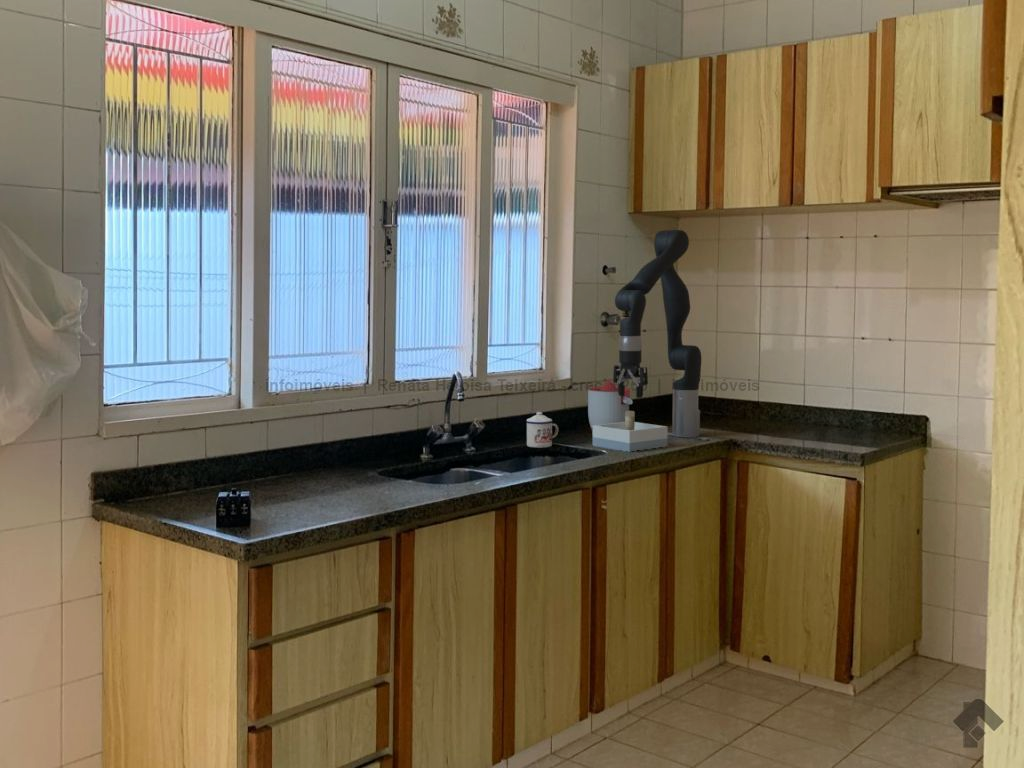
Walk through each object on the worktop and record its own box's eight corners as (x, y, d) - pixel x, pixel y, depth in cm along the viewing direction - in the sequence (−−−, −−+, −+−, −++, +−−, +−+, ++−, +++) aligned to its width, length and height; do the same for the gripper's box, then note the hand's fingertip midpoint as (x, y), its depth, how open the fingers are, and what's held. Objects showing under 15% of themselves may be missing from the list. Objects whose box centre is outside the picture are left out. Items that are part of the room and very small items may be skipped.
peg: (629, 445, 357) (630, 410, 356) (636, 446, 355) (636, 411, 354) (622, 446, 355) (623, 411, 354) (629, 447, 353) (629, 412, 352)
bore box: (630, 440, 368) (630, 421, 367) (667, 446, 353) (667, 426, 353) (592, 445, 356) (592, 425, 356) (629, 452, 342) (629, 431, 342)
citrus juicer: (619, 438, 374) (619, 383, 372) (579, 434, 384) (579, 380, 382) (641, 433, 386) (641, 380, 384) (601, 429, 397) (602, 377, 395)
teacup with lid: (534, 448, 350) (534, 414, 349) (521, 445, 358) (521, 411, 357) (564, 445, 356) (564, 412, 355) (550, 442, 364) (550, 409, 363)
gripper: (653, 349, 348) (653, 397, 350) (623, 347, 360) (623, 394, 361) (637, 350, 344) (637, 399, 346) (607, 348, 355) (607, 395, 357)
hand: (630, 396), depth 353 cm, fingers open, 8 cm apart
